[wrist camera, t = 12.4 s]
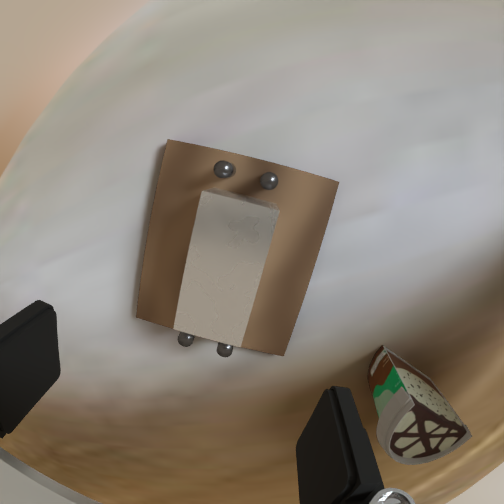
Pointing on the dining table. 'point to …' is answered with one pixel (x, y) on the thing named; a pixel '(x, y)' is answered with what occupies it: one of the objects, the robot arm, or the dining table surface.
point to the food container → (412, 412)
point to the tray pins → (267, 182)
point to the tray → (280, 251)
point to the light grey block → (224, 265)
